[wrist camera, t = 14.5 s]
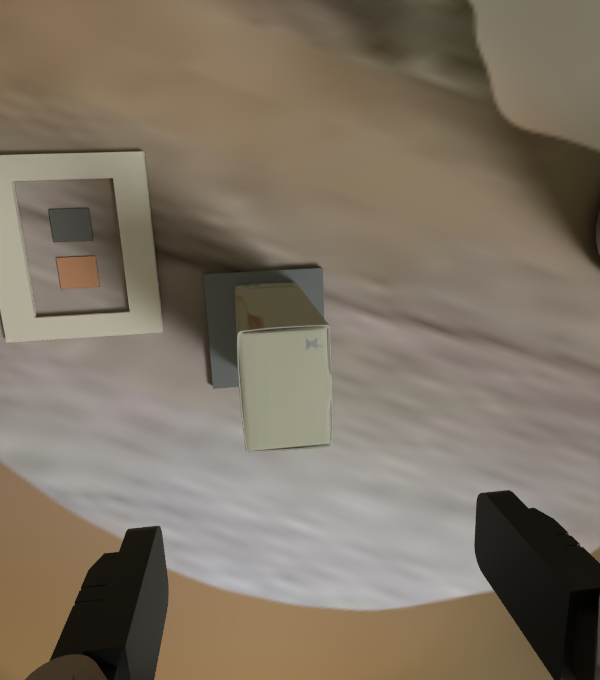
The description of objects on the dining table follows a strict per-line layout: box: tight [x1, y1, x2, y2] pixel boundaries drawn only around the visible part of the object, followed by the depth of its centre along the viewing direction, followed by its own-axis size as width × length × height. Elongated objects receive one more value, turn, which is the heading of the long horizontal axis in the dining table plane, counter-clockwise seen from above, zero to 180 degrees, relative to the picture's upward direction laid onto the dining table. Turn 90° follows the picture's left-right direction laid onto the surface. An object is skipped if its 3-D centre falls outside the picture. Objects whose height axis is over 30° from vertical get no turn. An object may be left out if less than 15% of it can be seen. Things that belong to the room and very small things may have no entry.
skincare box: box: [235, 283, 333, 453], centre depth 29 cm, size 6×4×12 cm
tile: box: [203, 267, 324, 389], centre depth 35 cm, size 8×8×1 cm
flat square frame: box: [0, 151, 164, 342], centre depth 32 cm, size 10×12×1 cm
